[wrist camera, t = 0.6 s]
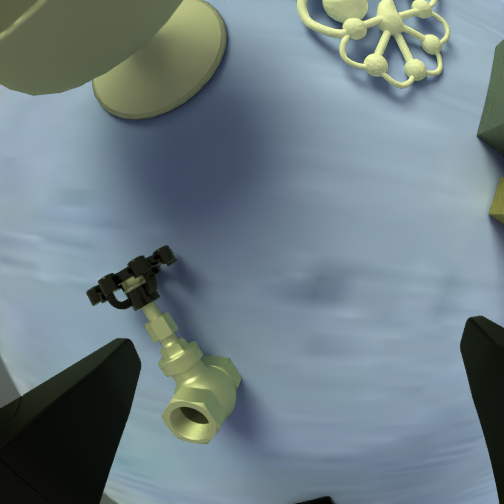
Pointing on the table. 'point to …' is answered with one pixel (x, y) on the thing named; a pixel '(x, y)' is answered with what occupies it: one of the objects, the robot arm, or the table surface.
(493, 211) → the end cover
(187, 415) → the valve
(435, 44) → the tangled rod sculpture
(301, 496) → the table surface
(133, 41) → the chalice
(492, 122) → the housing
